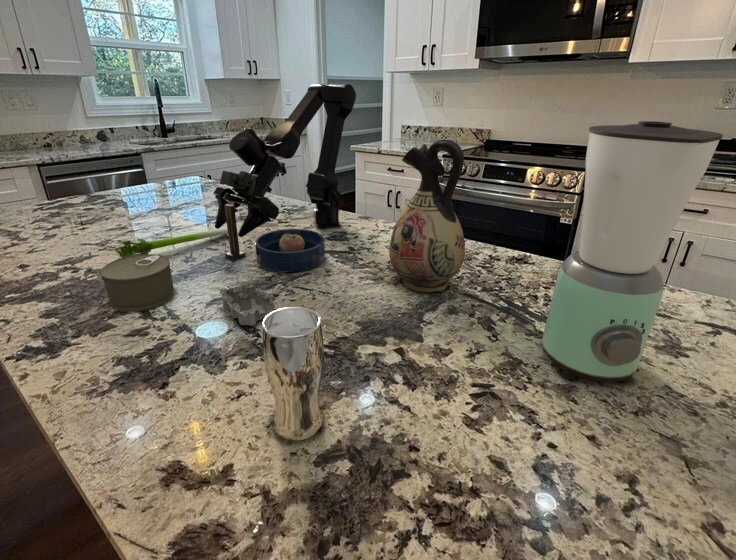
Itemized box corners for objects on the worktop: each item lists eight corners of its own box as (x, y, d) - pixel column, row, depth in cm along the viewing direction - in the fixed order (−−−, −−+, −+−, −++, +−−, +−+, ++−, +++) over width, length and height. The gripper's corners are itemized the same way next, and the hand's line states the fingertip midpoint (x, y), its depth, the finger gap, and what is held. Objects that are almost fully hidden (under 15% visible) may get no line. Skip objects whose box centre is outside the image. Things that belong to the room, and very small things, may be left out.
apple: (270, 260, 99) (268, 237, 96) (292, 250, 105) (291, 227, 103) (289, 266, 96) (288, 242, 93) (311, 255, 102) (310, 232, 100)
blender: (662, 401, 56) (773, 130, 42) (561, 396, 57) (635, 129, 43) (597, 326, 74) (659, 116, 59) (520, 323, 74) (562, 115, 60)
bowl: (318, 244, 110) (317, 226, 108) (331, 269, 95) (330, 249, 93) (255, 250, 106) (253, 231, 104) (259, 276, 92) (257, 255, 90)
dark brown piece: (237, 253, 104) (231, 202, 99) (245, 256, 102) (239, 204, 97) (225, 257, 102) (218, 205, 96) (233, 260, 100) (227, 207, 94)
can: (94, 306, 80) (85, 273, 77) (143, 280, 90) (136, 250, 87) (143, 317, 76) (135, 283, 73) (188, 289, 86) (182, 258, 83)
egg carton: (279, 317, 76) (278, 298, 74) (240, 330, 72) (237, 310, 70) (256, 294, 84) (254, 276, 82) (219, 305, 80) (216, 286, 78)
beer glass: (273, 404, 56) (263, 306, 49) (325, 401, 56) (322, 304, 50) (267, 445, 49) (256, 339, 43) (326, 442, 50) (323, 336, 44)
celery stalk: (237, 243, 115) (123, 268, 94) (223, 240, 119) (111, 264, 98) (234, 221, 113) (117, 241, 92) (220, 219, 118) (106, 238, 96)
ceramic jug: (372, 284, 88) (376, 137, 76) (414, 263, 99) (424, 130, 86) (441, 312, 78) (459, 146, 65) (480, 285, 88) (502, 138, 76)
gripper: (215, 152, 100) (180, 206, 97) (265, 161, 90) (227, 222, 86) (245, 179, 109) (214, 230, 106) (294, 191, 98) (260, 247, 95)
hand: (227, 232), depth 98 cm, fingers open, 9 cm apart
